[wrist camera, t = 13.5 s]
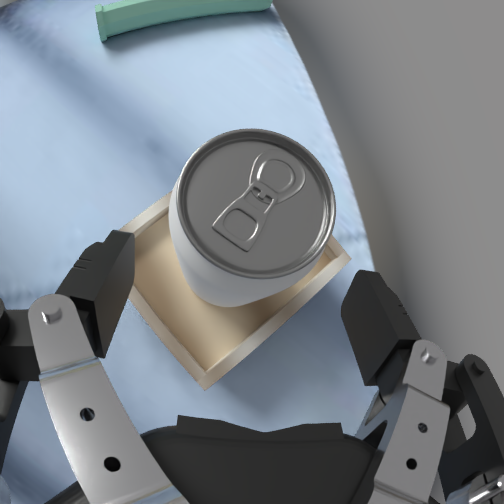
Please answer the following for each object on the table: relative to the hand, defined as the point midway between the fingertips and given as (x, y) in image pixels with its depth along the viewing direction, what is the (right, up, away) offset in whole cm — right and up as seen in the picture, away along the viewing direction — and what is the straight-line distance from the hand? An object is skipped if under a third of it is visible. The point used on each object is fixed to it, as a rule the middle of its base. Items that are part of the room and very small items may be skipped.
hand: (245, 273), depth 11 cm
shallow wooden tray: (-2, -1, +16) cm, 16 cm away
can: (-2, 0, +11) cm, 12 cm away
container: (-9, +34, +23) cm, 42 cm away
